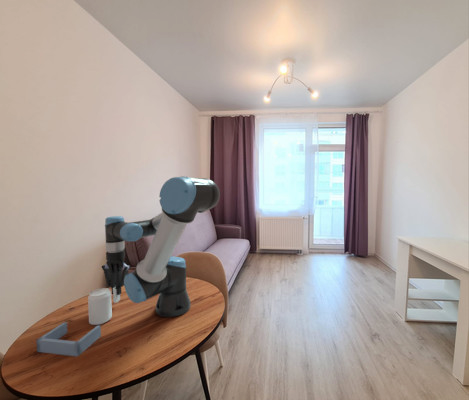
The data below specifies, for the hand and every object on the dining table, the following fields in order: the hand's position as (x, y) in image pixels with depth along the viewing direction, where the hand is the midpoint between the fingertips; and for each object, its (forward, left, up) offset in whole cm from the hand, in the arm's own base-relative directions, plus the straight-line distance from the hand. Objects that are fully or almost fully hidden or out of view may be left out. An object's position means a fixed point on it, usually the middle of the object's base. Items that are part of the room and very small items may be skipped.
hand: (116, 301), depth 100 cm
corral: (0, +24, -3) cm, 24 cm away
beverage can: (0, +10, -3) cm, 11 cm away
